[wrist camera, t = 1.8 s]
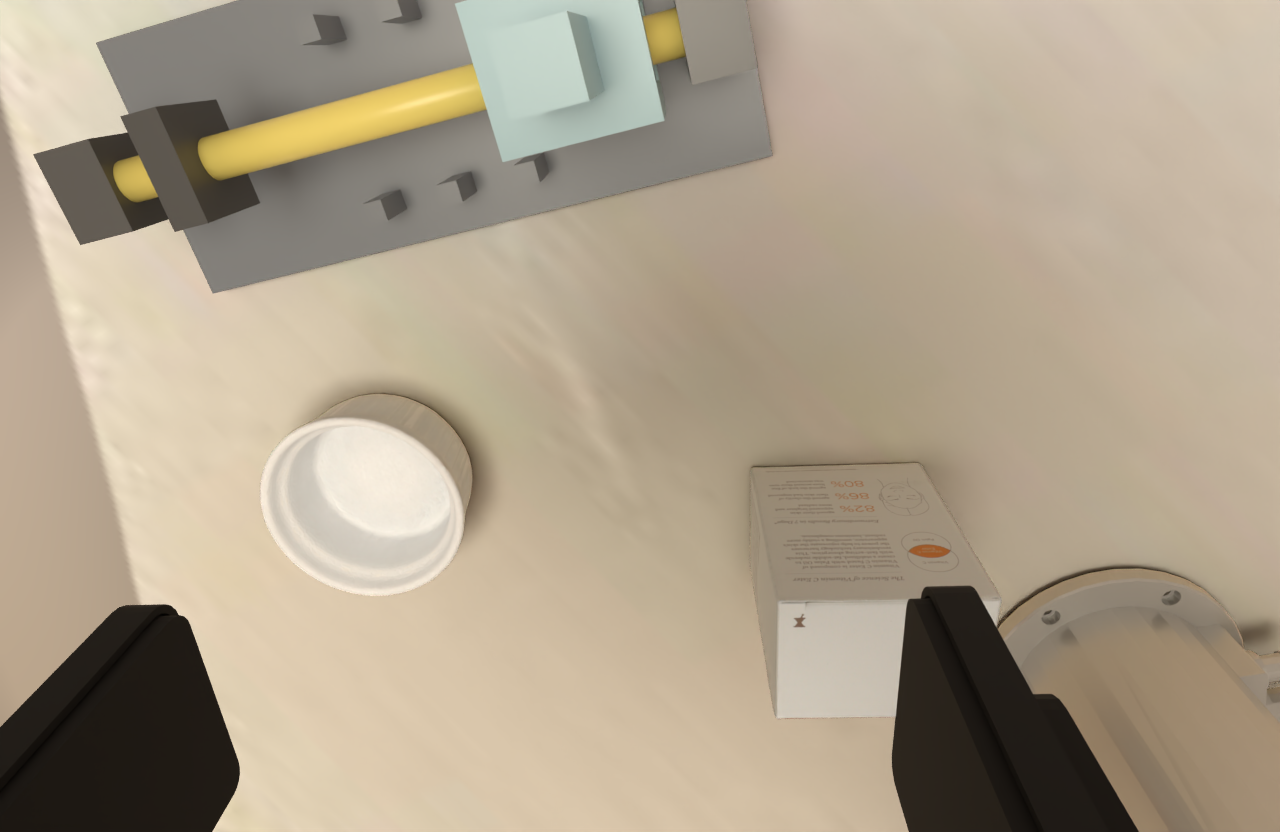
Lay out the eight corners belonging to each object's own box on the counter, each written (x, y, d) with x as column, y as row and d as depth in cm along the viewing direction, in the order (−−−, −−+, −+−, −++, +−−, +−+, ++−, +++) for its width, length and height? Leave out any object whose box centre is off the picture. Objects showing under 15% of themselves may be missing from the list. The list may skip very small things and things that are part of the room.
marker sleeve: (635, -33, 26) (616, -66, 18) (666, 109, 28) (661, 136, 20) (488, 9, 27) (407, -5, 19) (527, 145, 29) (468, 185, 21)
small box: (748, 563, 41) (768, 723, 31) (748, 462, 38) (772, 602, 29) (912, 561, 40) (985, 723, 31) (923, 459, 38) (1006, 599, 28)
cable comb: (719, -138, 29) (733, -204, 21) (769, 152, 33) (797, 185, 25) (112, 42, 32) (-63, 42, 24) (224, 287, 36) (103, 352, 28)
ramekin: (301, 363, 37) (256, 401, 33) (493, 399, 38) (472, 441, 34) (299, 527, 41) (259, 578, 37) (475, 558, 41) (453, 612, 37)
